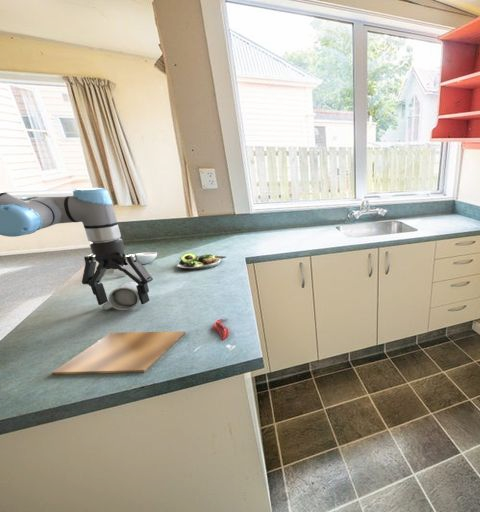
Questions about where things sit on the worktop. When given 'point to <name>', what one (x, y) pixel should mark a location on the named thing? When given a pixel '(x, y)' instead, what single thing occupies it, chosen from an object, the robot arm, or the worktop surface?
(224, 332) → the cayenne pepper
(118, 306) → the ceramic mug
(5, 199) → the robot arm
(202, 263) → the salad plate
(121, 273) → the spoon rest
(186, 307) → the worktop surface
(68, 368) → the cutting board
